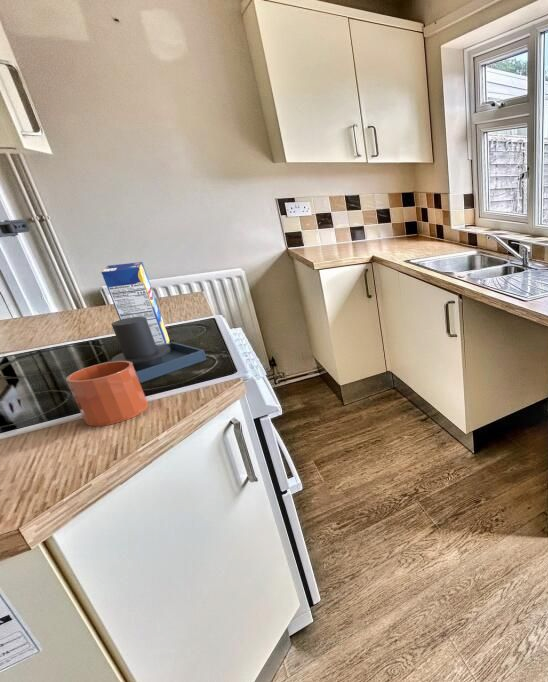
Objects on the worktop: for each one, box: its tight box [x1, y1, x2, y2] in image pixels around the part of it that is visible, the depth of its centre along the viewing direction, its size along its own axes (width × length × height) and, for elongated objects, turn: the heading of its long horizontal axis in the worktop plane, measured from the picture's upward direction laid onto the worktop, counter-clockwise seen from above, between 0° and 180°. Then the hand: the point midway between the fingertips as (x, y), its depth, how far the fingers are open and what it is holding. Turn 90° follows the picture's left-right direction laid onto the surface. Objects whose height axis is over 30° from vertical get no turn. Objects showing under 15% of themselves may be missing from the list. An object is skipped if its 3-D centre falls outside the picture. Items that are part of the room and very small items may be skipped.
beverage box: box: [100, 261, 171, 345], centre depth 108 cm, size 7×11×22 cm, turn 36°
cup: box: [65, 361, 149, 427], centre depth 79 cm, size 9×9×9 cm
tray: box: [76, 341, 208, 384], centre depth 99 cm, size 19×14×3 cm
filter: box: [110, 317, 170, 372], centre depth 97 cm, size 11×11×12 cm
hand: (1, 226), depth 78 cm, fingers open, 8 cm apart
